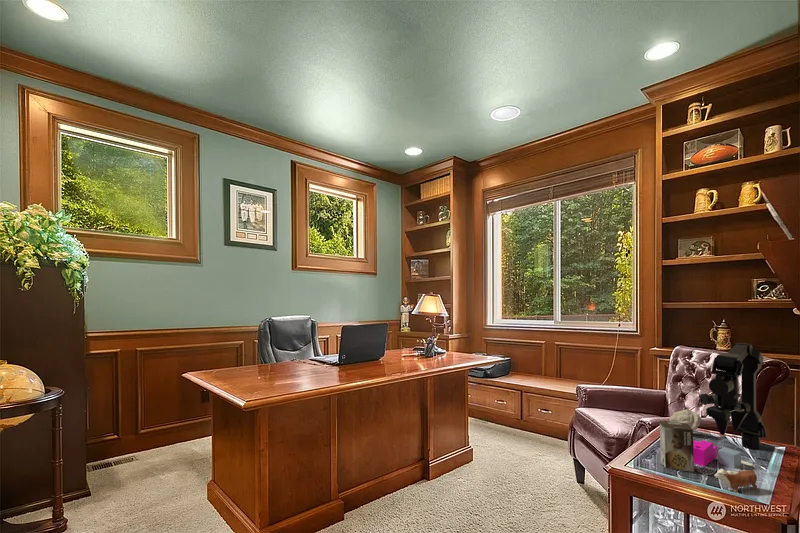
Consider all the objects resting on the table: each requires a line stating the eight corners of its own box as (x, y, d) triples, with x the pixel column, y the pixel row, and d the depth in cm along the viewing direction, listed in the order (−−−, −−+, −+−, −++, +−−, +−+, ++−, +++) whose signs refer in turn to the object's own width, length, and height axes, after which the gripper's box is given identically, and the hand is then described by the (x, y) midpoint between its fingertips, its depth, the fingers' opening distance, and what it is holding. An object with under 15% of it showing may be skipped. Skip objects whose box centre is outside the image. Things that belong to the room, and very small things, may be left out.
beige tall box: (688, 467, 150) (687, 422, 150) (694, 475, 144) (694, 429, 144) (659, 463, 153) (659, 420, 153) (664, 471, 147) (664, 426, 147)
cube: (725, 460, 154) (725, 447, 154) (741, 466, 150) (741, 452, 150) (718, 463, 152) (718, 449, 152) (734, 469, 148) (733, 455, 148)
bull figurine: (712, 491, 134) (711, 466, 134) (750, 489, 135) (749, 464, 135) (723, 499, 129) (723, 473, 129) (763, 496, 130) (762, 470, 130)
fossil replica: (665, 427, 186) (665, 405, 186) (680, 426, 188) (680, 404, 188) (690, 438, 174) (689, 415, 174) (705, 436, 176) (705, 413, 176)
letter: (721, 453, 160) (721, 453, 160) (753, 464, 151) (753, 464, 151) (705, 460, 154) (705, 460, 154) (736, 472, 146) (736, 472, 146)
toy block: (703, 450, 149) (679, 444, 155) (704, 468, 149) (680, 460, 155) (716, 439, 158) (693, 433, 164) (717, 456, 158) (694, 449, 164)
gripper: (716, 381, 163) (717, 420, 162) (690, 388, 154) (690, 429, 154) (750, 388, 153) (751, 430, 153) (724, 396, 144) (725, 440, 144)
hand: (728, 432), depth 151 cm, fingers open, 9 cm apart
